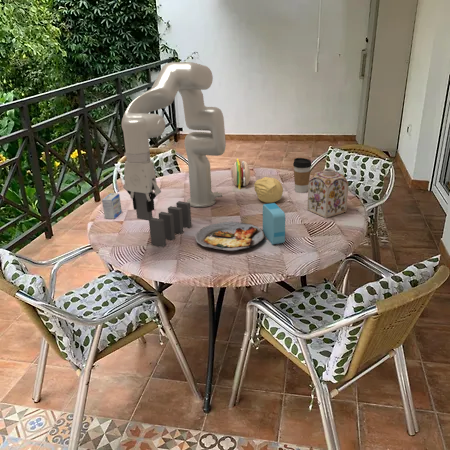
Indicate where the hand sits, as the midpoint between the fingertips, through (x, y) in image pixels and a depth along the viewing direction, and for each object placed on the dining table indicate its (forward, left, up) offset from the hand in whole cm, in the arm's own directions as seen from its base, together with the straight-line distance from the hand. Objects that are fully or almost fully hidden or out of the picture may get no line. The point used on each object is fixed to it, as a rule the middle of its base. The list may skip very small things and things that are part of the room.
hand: (144, 209), depth 152 cm
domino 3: (-9, -9, -16) cm, 20 cm away
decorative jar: (-76, -10, -17) cm, 78 cm away
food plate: (-30, +1, -17) cm, 34 cm away
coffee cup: (-78, -37, -16) cm, 88 cm away
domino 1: (0, 0, -3) cm, 3 cm away
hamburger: (-55, -56, -16) cm, 80 cm away
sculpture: (-59, -31, -17) cm, 69 cm away
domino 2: (-4, -4, -16) cm, 17 cm away
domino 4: (-13, -13, -16) cm, 24 cm away
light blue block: (-45, +6, -17) cm, 48 cm away
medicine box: (+9, -40, -17) cm, 44 cm away
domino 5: (-17, -17, -16) cm, 29 cm away
